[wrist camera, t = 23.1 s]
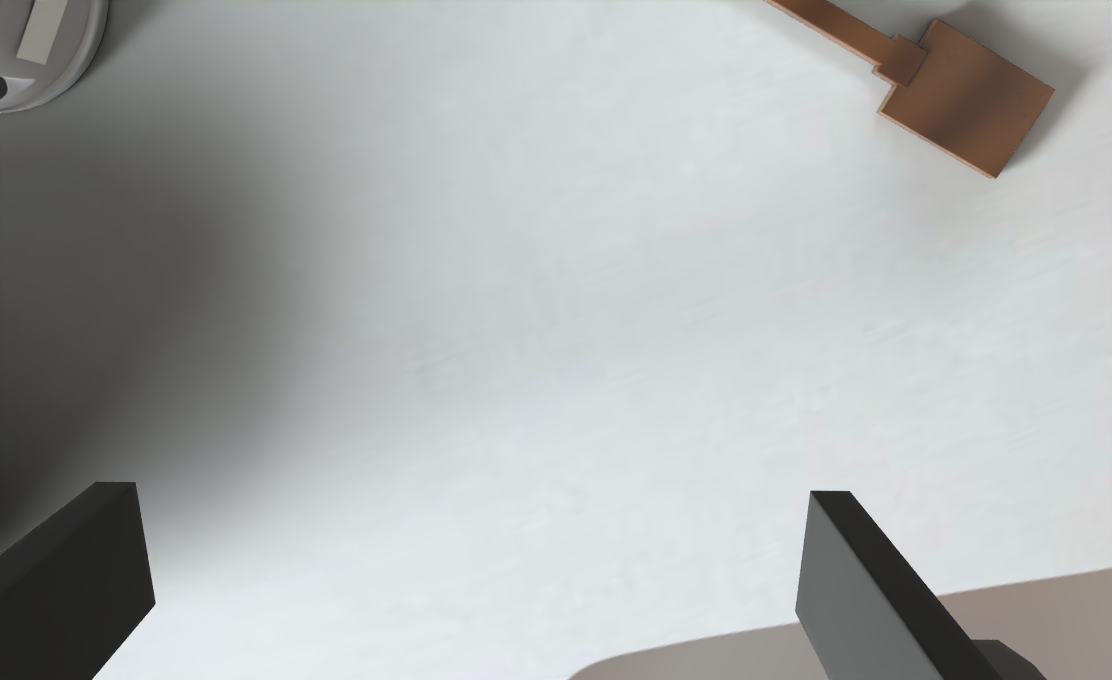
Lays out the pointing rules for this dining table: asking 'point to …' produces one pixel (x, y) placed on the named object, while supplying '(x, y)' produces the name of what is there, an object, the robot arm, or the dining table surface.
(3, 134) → the dining table surface
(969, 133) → the spatula
